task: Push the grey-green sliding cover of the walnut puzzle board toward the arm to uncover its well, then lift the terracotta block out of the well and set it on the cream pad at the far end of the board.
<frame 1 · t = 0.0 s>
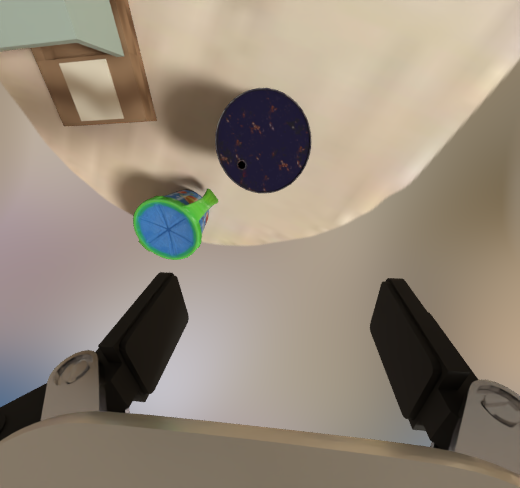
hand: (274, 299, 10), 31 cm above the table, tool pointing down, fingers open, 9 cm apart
snack cup: (191, 208, 43), on the table
board: (84, 20, 31), on the table
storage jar: (271, 135, 35), on the table
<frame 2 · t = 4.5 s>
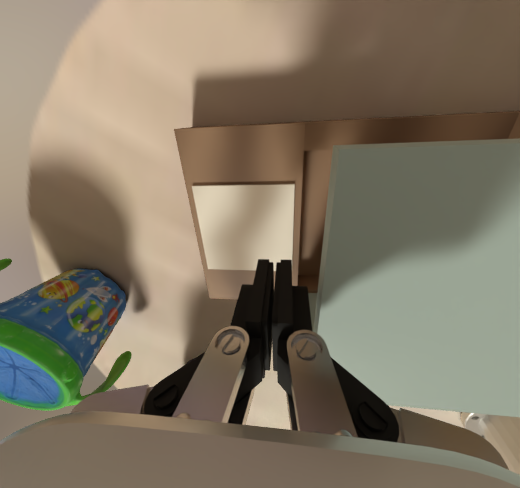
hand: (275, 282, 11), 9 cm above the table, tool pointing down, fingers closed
snack cup: (99, 289, 26), on the table
board: (353, 215, 18), on the table
cover: (425, 267, 12), point 7 cm above the table, slide at 0.9 cm, touching gripper
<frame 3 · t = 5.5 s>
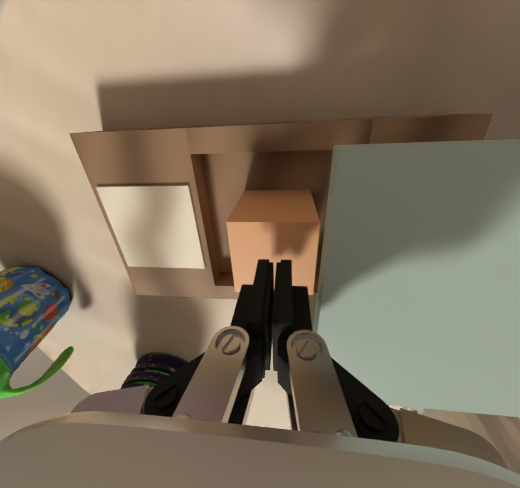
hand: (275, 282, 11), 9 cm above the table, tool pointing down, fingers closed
snack cup: (44, 286, 27), on the table
board: (265, 215, 19), on the table
cover: (425, 267, 12), point 7 cm above the table, slide at 8.2 cm, touching gripper
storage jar: (169, 371, 34), on the table
block: (277, 220, 18), point 1 cm above the table, touching board
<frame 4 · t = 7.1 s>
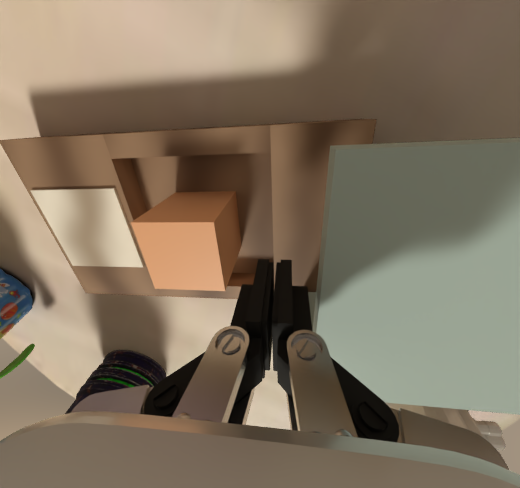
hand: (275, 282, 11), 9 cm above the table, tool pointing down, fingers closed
snack cup: (8, 286, 28), on the table
board: (202, 216, 20), on the table
cover: (423, 265, 12), point 7 cm above the table, slide at 13.9 cm
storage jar: (136, 368, 35), on the table
block: (210, 220, 19), point 1 cm above the table, touching board
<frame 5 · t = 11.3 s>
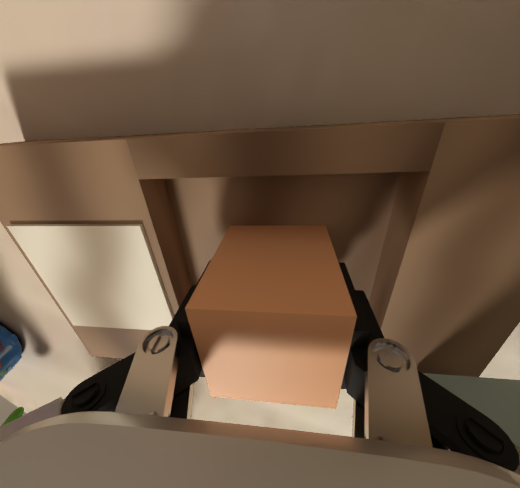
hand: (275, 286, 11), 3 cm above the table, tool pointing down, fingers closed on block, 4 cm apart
board: (261, 255, 14), on the table
block: (277, 264, 13), point 1 cm above the table, touching board, gripper
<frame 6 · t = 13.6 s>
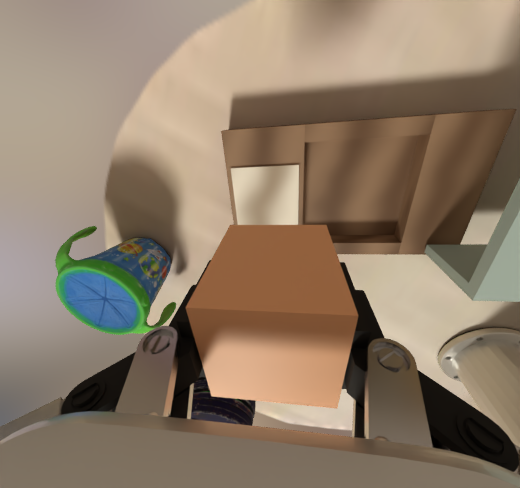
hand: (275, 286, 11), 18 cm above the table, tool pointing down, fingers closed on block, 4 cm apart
snack cup: (149, 256, 34), on the table
board: (341, 189, 26), on the table
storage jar: (237, 331, 40), on the table
block: (277, 264, 13), point 16 cm above the table, touching gripper
when the fingers open (7 cm above the table, at t = 16.2 s): block drops 1 cm, resting on board.
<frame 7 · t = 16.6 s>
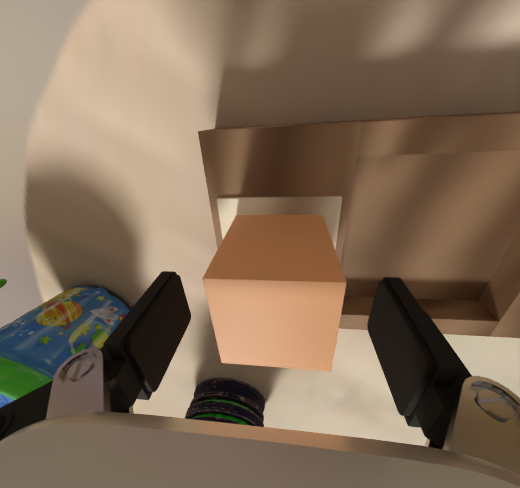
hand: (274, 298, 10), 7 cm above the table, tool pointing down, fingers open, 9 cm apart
snack cup: (104, 307, 24), on the table
board: (399, 229, 16), on the table
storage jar: (230, 396, 30), on the table
block: (278, 251, 14), point 3 cm above the table, touching board
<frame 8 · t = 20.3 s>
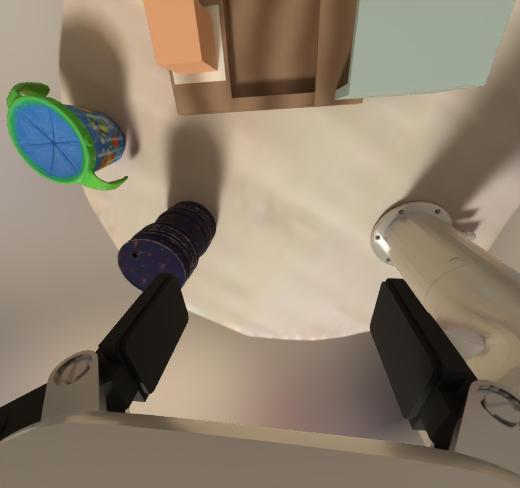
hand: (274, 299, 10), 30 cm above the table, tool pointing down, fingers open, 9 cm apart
snack cup: (105, 137, 37), on the table
board: (265, 47, 29), on the table
cover: (414, 12, 21), point 7 cm above the table, slide at 13.9 cm
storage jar: (192, 224, 44), on the table
block: (195, 47, 28), point 3 cm above the table, touching board
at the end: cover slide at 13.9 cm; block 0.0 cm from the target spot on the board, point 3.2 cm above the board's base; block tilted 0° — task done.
